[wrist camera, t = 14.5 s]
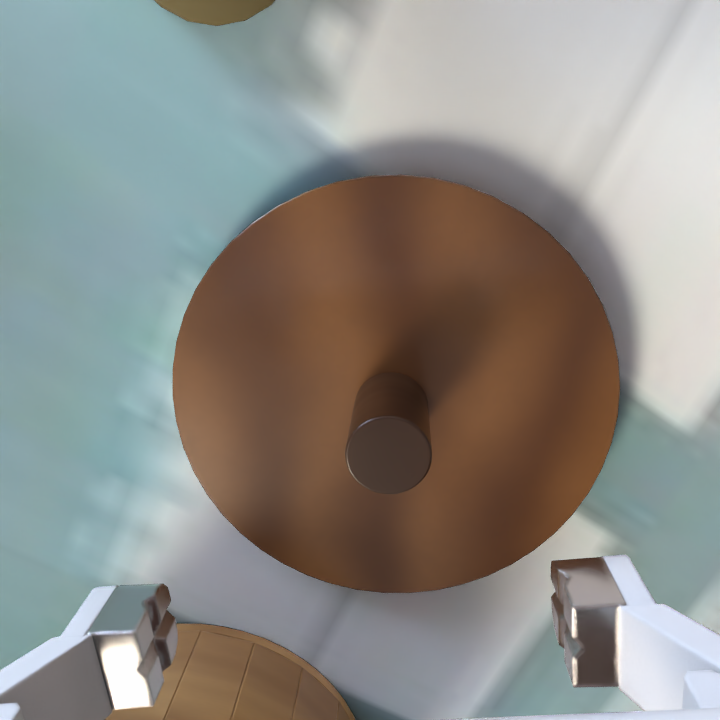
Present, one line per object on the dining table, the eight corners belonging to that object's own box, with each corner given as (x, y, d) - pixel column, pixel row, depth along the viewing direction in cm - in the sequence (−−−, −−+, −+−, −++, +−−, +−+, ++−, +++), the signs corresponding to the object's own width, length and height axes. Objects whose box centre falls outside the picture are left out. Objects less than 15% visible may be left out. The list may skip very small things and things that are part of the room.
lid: (221, 584, 28) (181, 678, 23) (143, 199, 23) (72, 215, 18) (609, 564, 27) (655, 661, 22) (611, 148, 22) (672, 150, 17)
